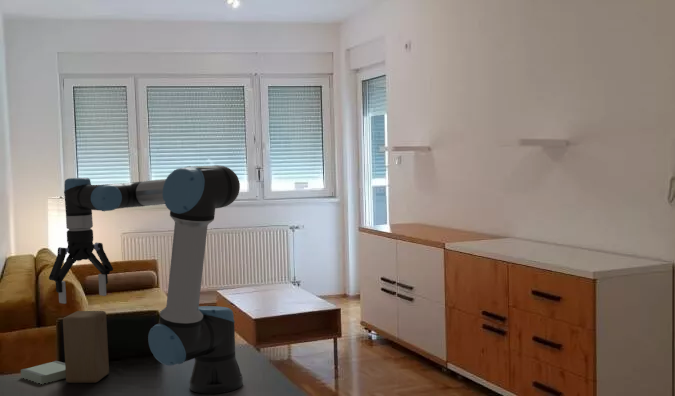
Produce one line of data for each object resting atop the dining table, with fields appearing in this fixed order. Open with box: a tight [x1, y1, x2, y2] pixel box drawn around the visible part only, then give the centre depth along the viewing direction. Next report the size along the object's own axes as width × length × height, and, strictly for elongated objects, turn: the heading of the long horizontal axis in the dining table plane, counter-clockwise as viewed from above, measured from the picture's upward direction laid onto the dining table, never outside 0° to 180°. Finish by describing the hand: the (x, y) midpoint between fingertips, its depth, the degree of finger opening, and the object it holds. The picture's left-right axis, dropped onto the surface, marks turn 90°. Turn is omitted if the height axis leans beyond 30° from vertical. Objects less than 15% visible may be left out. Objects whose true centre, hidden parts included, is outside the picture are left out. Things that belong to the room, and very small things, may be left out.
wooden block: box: [62, 310, 110, 384], centre depth 232 cm, size 10×10×20 cm
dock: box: [20, 360, 66, 385], centre depth 236 cm, size 12×12×3 cm
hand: (83, 299), depth 231 cm, fingers open, 13 cm apart
